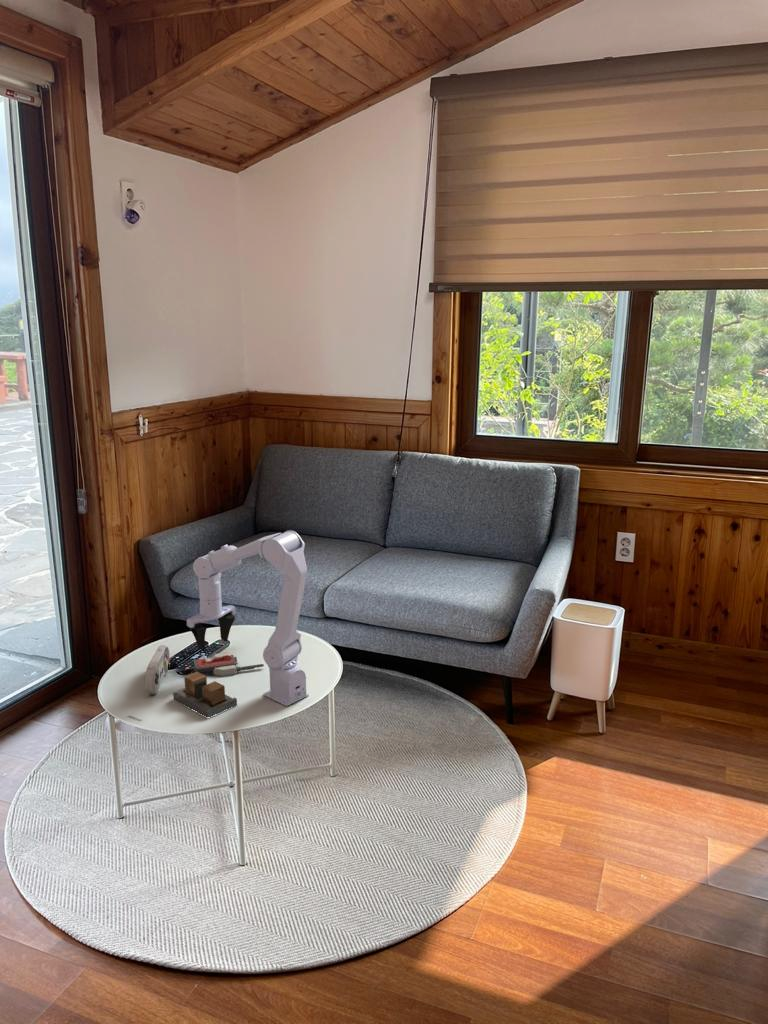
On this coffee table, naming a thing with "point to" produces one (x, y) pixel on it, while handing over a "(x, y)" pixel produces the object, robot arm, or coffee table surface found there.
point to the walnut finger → (195, 684)
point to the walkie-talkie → (220, 665)
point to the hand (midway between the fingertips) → (213, 644)
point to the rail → (207, 699)
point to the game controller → (157, 669)
